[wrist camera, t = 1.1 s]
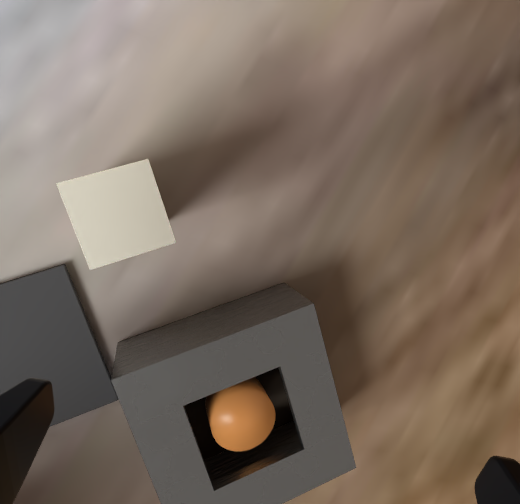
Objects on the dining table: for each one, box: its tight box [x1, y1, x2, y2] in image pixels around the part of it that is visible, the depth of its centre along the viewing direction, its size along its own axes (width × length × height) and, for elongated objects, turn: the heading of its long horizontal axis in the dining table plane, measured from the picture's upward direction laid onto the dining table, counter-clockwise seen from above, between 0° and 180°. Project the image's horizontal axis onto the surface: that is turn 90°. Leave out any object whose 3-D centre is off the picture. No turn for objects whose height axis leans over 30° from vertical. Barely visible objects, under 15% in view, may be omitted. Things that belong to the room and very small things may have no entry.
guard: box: [111, 283, 356, 504], centre depth 22 cm, size 10×10×4 cm
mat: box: [0, 264, 118, 427], centre depth 21 cm, size 8×8×1 cm
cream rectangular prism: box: [56, 159, 176, 270], centre depth 17 cm, size 3×3×8 cm
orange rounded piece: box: [205, 377, 275, 451], centre depth 22 cm, size 3×3×2 cm
